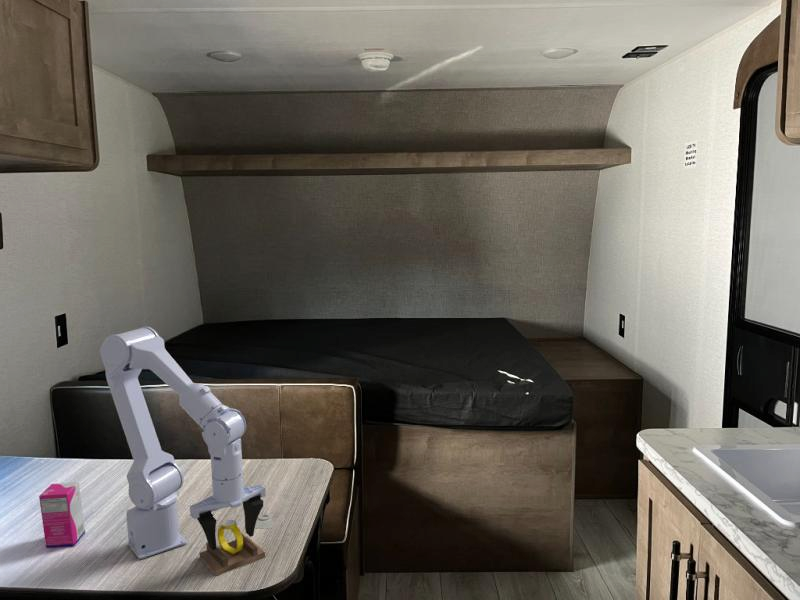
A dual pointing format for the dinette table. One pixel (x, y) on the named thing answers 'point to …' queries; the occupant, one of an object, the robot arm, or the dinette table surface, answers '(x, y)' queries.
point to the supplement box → (62, 515)
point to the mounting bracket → (264, 522)
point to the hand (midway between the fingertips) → (231, 540)
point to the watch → (239, 539)
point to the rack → (231, 556)
